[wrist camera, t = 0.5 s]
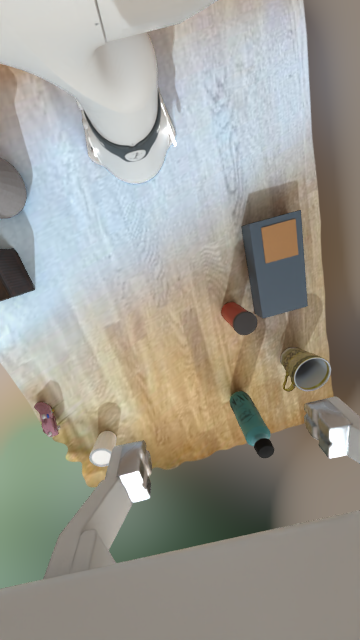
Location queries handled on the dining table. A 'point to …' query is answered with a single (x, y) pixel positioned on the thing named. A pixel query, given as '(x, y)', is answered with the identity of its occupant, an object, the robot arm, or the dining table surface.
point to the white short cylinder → (103, 449)
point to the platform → (276, 264)
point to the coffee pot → (11, 190)
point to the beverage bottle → (251, 424)
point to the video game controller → (47, 419)
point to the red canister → (239, 318)
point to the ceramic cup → (304, 369)
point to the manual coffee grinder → (13, 275)
